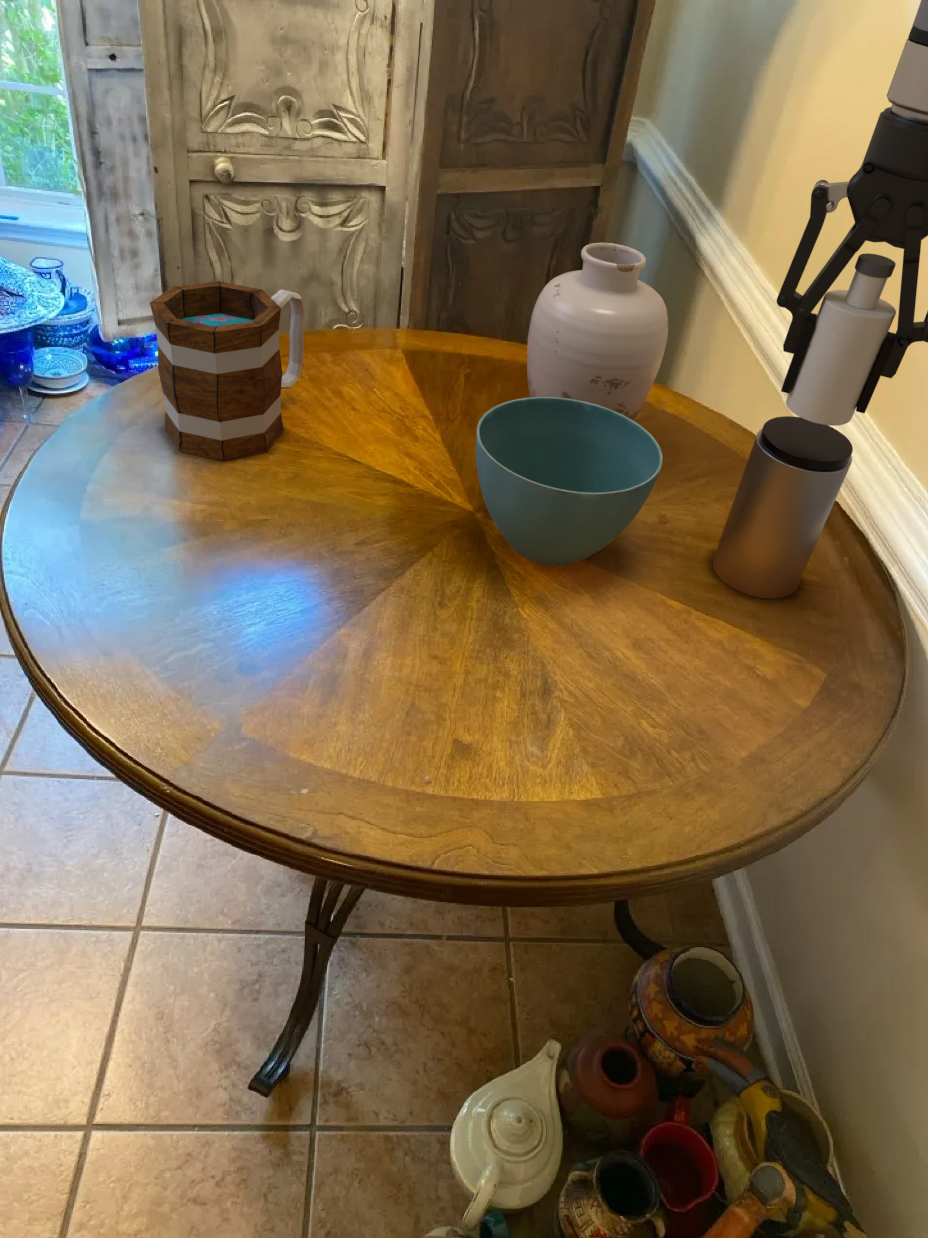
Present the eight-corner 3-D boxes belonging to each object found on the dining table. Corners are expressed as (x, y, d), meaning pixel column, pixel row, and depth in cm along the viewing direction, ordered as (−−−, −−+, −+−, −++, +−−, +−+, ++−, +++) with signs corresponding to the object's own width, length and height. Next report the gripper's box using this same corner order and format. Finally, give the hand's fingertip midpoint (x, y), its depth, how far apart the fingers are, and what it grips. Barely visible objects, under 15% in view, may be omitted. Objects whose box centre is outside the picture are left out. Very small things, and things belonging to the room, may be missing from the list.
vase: (550, 480, 106) (588, 285, 91) (492, 415, 117) (517, 230, 102) (663, 462, 112) (715, 276, 97) (597, 402, 122) (636, 225, 108)
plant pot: (595, 490, 105) (618, 392, 98) (663, 588, 93) (695, 485, 85) (444, 500, 100) (455, 398, 93) (493, 606, 88) (510, 498, 80)
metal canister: (815, 581, 96) (875, 448, 86) (762, 609, 92) (819, 472, 81) (748, 537, 101) (797, 406, 91) (695, 562, 97) (740, 427, 86)
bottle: (864, 416, 84) (928, 267, 75) (826, 431, 81) (889, 277, 72) (810, 388, 87) (866, 242, 79) (772, 402, 84) (826, 251, 75)
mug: (221, 474, 100) (211, 344, 90) (139, 429, 105) (121, 301, 95) (342, 414, 113) (345, 294, 103) (263, 377, 118) (259, 259, 108)
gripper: (1065, 130, 69) (931, 407, 84) (811, 82, 73) (727, 354, 88) (1076, 150, 63) (931, 443, 79) (801, 97, 68) (713, 384, 83)
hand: (823, 395), depth 83 cm, fingers closed on bottle, 6 cm apart
